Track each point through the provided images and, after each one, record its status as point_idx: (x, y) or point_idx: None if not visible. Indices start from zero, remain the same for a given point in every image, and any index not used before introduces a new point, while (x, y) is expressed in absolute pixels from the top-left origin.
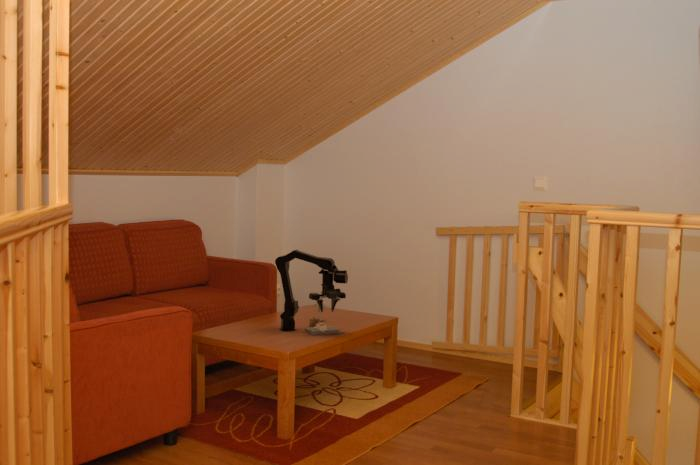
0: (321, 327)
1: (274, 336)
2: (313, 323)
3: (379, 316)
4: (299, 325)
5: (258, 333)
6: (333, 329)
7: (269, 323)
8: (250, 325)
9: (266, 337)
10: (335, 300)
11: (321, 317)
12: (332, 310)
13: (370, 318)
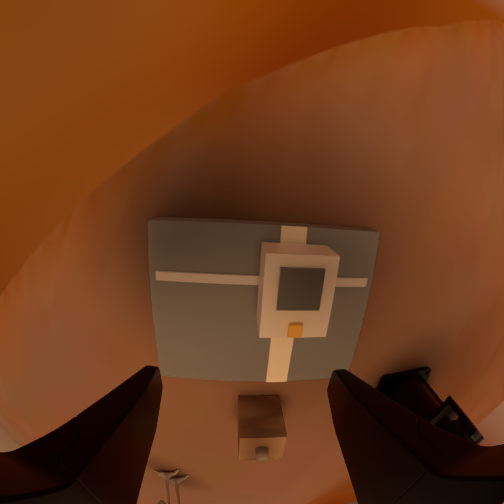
0: (317, 251)
1: (501, 273)
2: (272, 417)
3: None
4: (298, 448)
5: (498, 338)
6: (183, 270)
7: None
8: None
9: None
10: (6, 493)
11: (167, 482)
12: (153, 375)
13: (4, 410)
